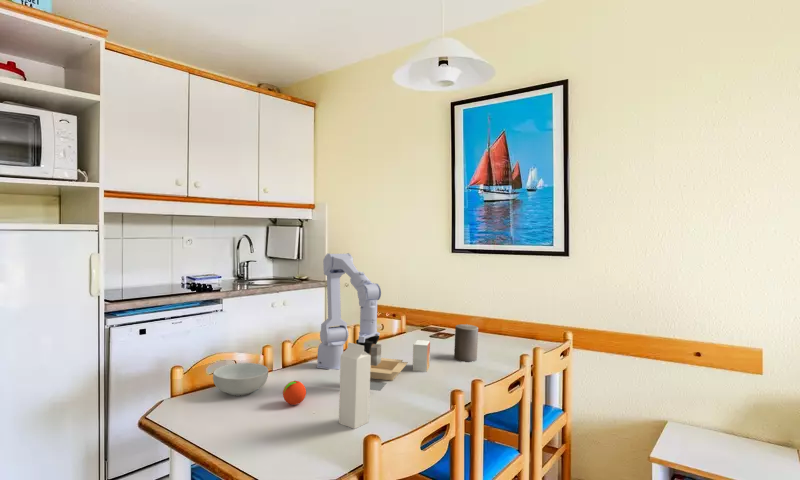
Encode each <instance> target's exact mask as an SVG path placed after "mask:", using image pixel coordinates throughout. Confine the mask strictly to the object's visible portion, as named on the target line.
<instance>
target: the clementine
mask: <svg viewBox="0 0 800 480" xmlns="http://www.w3.org/2000/svg"><path fill="white" fill-rule="evenodd" d="M282 396H283V399H284V401H285V402H286V403H287V404H288V405H291V406H292V405H293V406H296V405H299V404H300V403H302V402H303V401H304V400H305V399H306V396H307V389H306V387H305V384H304V383H303V382H301V381H298V380H292V381H289V382H288V383H287V384H285V386H284V388H283V390H282Z"/></svg>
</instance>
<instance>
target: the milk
mask: <svg viewBox="0 0 800 480" xmlns="http://www.w3.org/2000/svg"><path fill="white" fill-rule="evenodd" d="M370 364H371V355H369V354H368V353H366V352H364V346H363V345H358V344H356V343H354V342H348V343H347V348H346V349H345V350H343V354H342V355H341V360H340V370H339V400H338V402H339V403H338V407H339V408H338V424H340V425H342V426H346V427H348V428H352V429H354V430H355V429H358V428H359V427H362V426H364V425H366V424H369V422H370V397H371V395H370V394H371V390H370V381H371V378H370Z"/></svg>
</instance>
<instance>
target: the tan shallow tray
mask: <svg viewBox="0 0 800 480" xmlns="http://www.w3.org/2000/svg"><path fill="white" fill-rule="evenodd" d="M407 365H408V362H407V361H404V360H403V359H394V358H387V357H386V358H385V357H381V362H380V363H379V364H378V365H377V366H373V365H370V379H374V380H375V379H376V380H384V381H394V379H395V378H396V377H397V376H398V375H399V374H400V373H401V372H402V370H404V368H405V367H406V366H407Z"/></svg>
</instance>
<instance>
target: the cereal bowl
mask: <svg viewBox="0 0 800 480" xmlns="http://www.w3.org/2000/svg"><path fill="white" fill-rule="evenodd" d="M268 376H269V368H268V367H267V366H266V365H264V364H259V363H254V362H253V363H252V362H237V363H230V364H225V365H222V366H219V367H217V368H216V369H215V370H213V373H212V381H213V384H214V385H215V387H216V389H218V390H219V391H221V392H222V393H223V392H224V393H227V394H228V395H230V396H235V395H236V396H237V397H238V396H239V397H240V395H241V396H247V395H250V394H252V393H253V392H256V391H258V390H260V389H261V388H262V387H263V386H264V385H265V384H266V382H267V380H268Z"/></svg>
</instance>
